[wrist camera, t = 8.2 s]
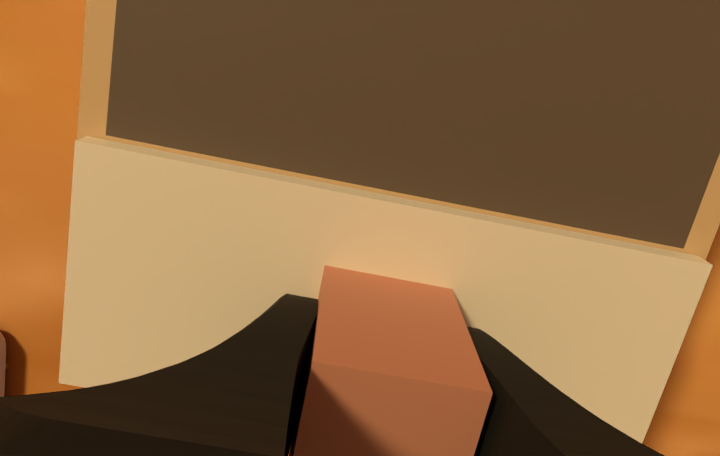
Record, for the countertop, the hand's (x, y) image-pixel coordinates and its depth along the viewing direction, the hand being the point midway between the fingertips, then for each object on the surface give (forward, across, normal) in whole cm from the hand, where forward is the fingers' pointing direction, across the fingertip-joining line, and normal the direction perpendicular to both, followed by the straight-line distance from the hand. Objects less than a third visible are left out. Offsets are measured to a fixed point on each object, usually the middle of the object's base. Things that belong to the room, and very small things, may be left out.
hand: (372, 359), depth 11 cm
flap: (+1, 0, -1) cm, 1 cm away
